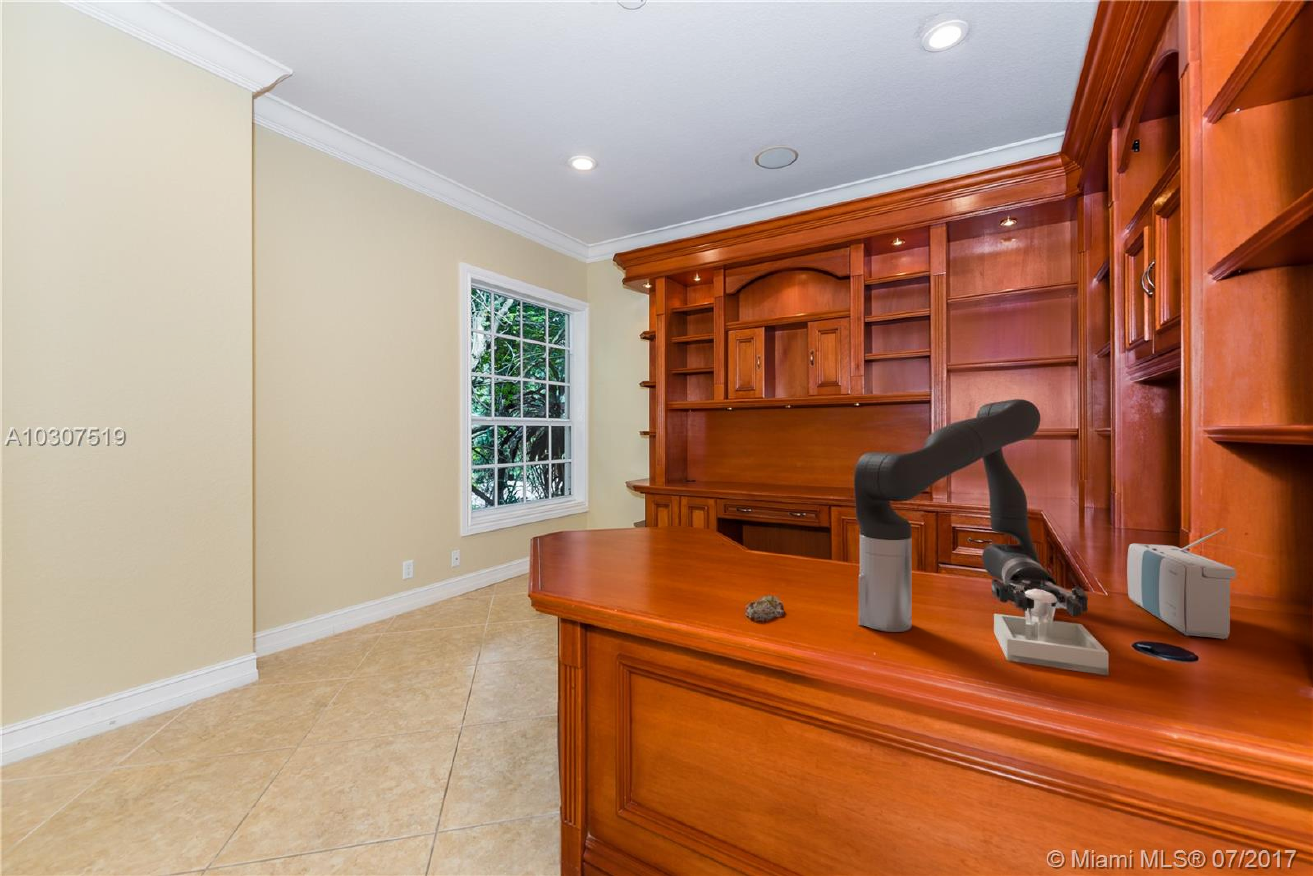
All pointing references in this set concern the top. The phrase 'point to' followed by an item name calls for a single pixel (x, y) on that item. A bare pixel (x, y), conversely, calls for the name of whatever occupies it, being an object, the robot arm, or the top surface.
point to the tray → (1052, 646)
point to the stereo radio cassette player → (1181, 588)
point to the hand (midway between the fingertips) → (1049, 607)
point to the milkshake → (1039, 614)
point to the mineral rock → (765, 609)
